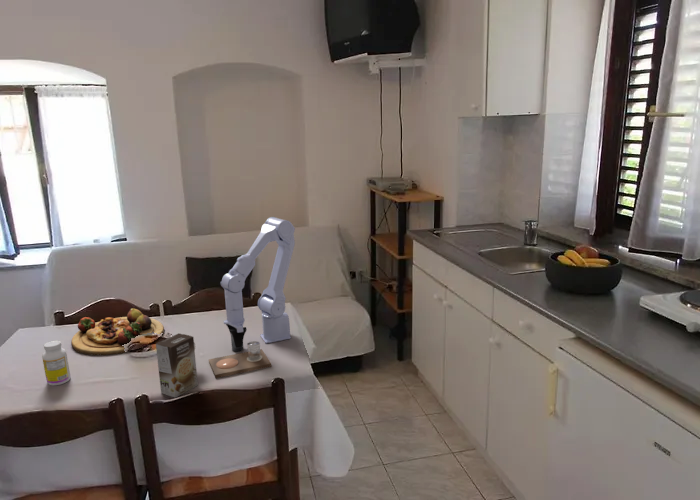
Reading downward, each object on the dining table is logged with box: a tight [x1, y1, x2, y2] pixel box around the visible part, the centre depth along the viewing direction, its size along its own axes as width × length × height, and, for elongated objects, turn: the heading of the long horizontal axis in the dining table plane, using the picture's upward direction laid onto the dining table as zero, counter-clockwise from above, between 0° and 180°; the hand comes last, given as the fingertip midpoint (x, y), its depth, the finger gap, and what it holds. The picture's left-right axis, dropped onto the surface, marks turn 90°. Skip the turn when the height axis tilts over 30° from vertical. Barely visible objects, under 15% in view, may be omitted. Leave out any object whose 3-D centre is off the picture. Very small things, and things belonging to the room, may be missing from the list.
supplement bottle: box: [41, 340, 71, 387], centre depth 170 cm, size 7×7×13 cm
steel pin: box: [230, 334, 244, 353], centre depth 191 cm, size 4×4×7 cm
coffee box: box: [155, 333, 199, 398], centre depth 163 cm, size 9×6×16 cm
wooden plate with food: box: [70, 307, 165, 357], centre depth 204 cm, size 32×32×8 cm
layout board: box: [208, 340, 272, 379], centre depth 179 cm, size 18×12×6 cm, turn 114°
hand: (237, 344), depth 191 cm, fingers closed on steel pin, 4 cm apart
